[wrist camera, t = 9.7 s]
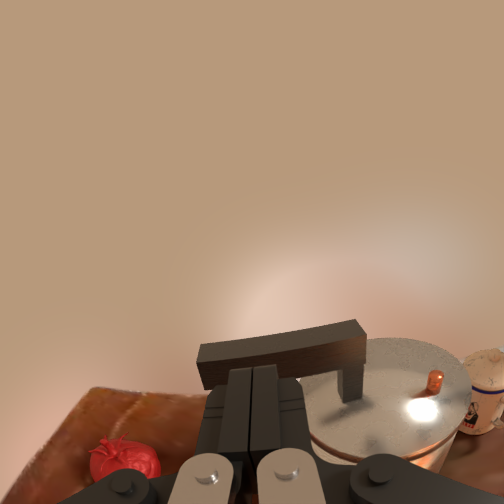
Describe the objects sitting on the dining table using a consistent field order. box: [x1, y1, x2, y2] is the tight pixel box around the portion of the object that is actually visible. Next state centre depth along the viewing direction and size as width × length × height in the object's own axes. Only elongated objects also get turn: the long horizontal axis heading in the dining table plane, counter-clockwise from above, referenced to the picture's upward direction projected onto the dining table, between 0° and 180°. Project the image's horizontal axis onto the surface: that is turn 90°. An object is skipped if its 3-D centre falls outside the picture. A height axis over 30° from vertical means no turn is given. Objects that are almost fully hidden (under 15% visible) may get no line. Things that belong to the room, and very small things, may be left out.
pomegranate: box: [88, 433, 161, 482], centre depth 29 cm, size 10×10×9 cm
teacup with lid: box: [459, 349, 504, 435], centre depth 27 cm, size 12×9×12 cm
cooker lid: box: [196, 319, 472, 463], centre depth 26 cm, size 26×19×9 cm
